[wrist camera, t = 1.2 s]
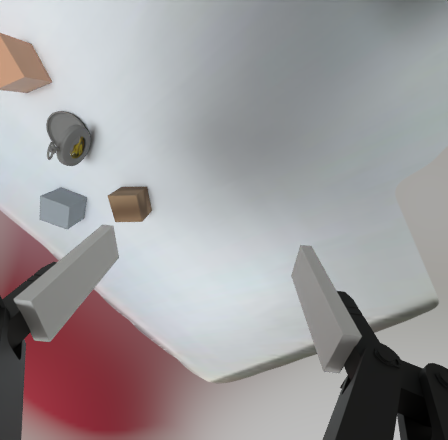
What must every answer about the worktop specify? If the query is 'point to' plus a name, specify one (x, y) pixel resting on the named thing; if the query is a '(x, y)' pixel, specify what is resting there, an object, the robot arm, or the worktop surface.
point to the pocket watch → (67, 138)
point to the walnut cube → (130, 204)
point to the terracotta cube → (20, 66)
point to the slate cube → (62, 208)
